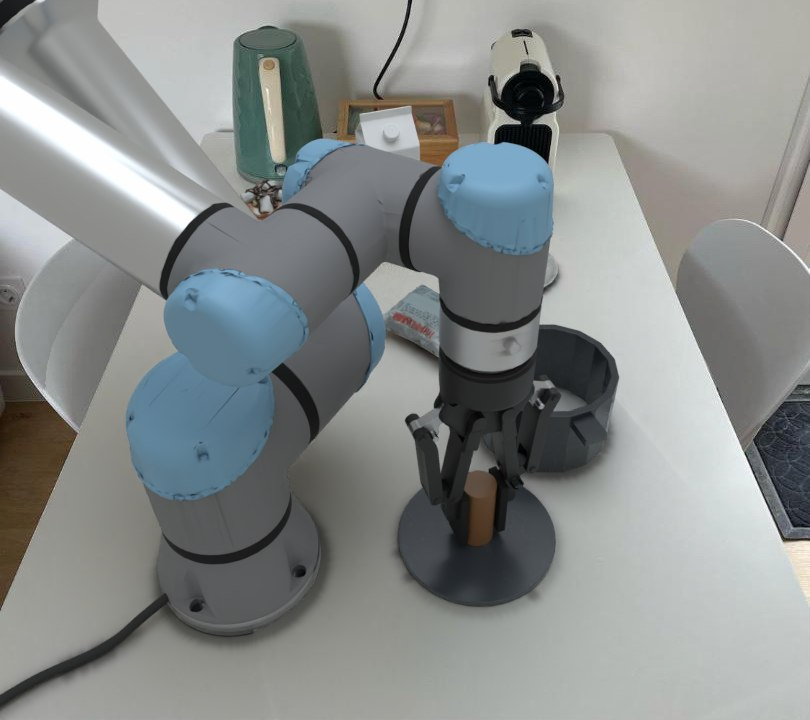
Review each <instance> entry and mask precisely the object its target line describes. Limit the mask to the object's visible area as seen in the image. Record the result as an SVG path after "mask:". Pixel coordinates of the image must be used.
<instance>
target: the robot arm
mask: <svg viewBox="0 0 810 720" xmlns="http://www.w3.org/2000/svg"><path fill="white" fill-rule="evenodd" d="M98 14H99V0H0V190H1V191H3V192H4V193H5V194H6V195H8V196H9V197H11V198H13V199H14V200H16V201H17V202H18V203H20V204H22V205H23V206H25V207H27V208H28V209H29V210H31V211H32V212H33V213H35V214H37V215H38V216H39V217H41V218H43V219H44V220H46V221H47V222H49V223H50V224H51V225H53V226H55V227H56V228H57V229H58V230H60V231H62V232H63V233H65V234H67V236H69V237H71V238H72V239H73V240H75V241H77V242H78V243H79V244H81V245H82V246H84V247H86V248H87V249H88V250H90V251H92V252H93V253H95V254H96V255H98V256H99V257H100V258H102V259H103V260H105V261H107V262H108V263H109V264H111V265H112V266H113V267H116V268H117V269H119V271H122V272H123V273H124V274H126V275H127V276H129V277H130V278H131V279H133V280H135V281H136V282H137V283H139V284H140V285H142V286H144V287H145V288H147V289H148V290H150V291H151V292H152V293H154V294H156V295H157V296H159V297H160V298H161V299H163V300H165V304H164V307H163V323H164V327H165V330H166V333H167V336H168V338H169V340H170V341H171V343H172V345H173V347H174V348H175V349H176V351H175V352H174V353H172V354H170V355H169V356H167V357H165V358H164V359H163V360H161V361H159V362H158V363H157V364H155V365H154V366H153V367H152V368H151V369H149V370H148V371H147V373H146V374H145V375H144V376H143V377H142V379H141V380H140V381H139V382H138V384H137V385H136V387H135V388H134V390H133V392H132V394H131V396H130V399H129V401H128V404H127V408H126V413H125V422H124V423H125V434H126V439H127V442H128V445H129V452H130V459H131V463H132V466H133V469H134V471H135V473H136V475H137V476H138V478H139V480H140V481H141V482H142V485H143V488H144V491H145V493H146V495H147V498H148V500H149V503H150V504H151V508H152V510H153V513H154V516H155V518H156V520H157V523H158V526H159V528H160V531H161V534H160V541H159V549H158V555H157V562H156V574H157V580H158V581H157V582H158V584H159V588H160V590H161V593H162V595H160V596H158V597H157V598H156V599H155V600H154V601H153V602H152V603H150V604H149V605H148V606H147V607H146V608H144V609H142V611H141V612H139V614H137V615H136V616H135V617H133V619H131V620H130V621H129V622H128V623H127V624H126V625H125V626H124V627H122V629H120V630H119V631H118V632H117V633H115V634H114V635H112V636H111V637H109V638H108V639H106V640H105V641H103V642H101V643H100V644H98V645H96V646H94V647H92V648H90V649H89V650H87V651H85V652H84V651H83V652H82V653H80V654H78V655H75V656H73V657H71V658H69V659H66V660H64V661H61V662H59V663H57V664H55V665H52V666H50V667H47V668H46V669H44V670H41V671H39V672H37V673H35V674H33V675H31V676H30V677H28V678H26V679H24V680H22V681H20V682H19V683H17V684H16V685H14V686H12V687H10V688H9V689H7V690H6V691H4V692H2V693H1V694H0V708H1V707H3V706H4V705H6V704H8V703H9V702H11V701H12V700H14V699H15V698H17V697H19V696H20V695H22V694H23V693H25V692H27V691H29V690H31V689H32V688H34V687H36V686H38V685H40V684H41V683H44V682H46V681H48V680H50V679H52V678H54V677H57V676H59V675H61V674H63V673H66V672H68V671H70V670H73V669H75V668H77V667H80V666H82V665H85V664H86V663H89V662H91V661H93V660H94V659H96V658H98V657H100V656H102V655H103V654H105V653H107V652H109V651H111V650H112V649H114V648H115V647H117V646H119V645H120V644H121V643H123V642H124V641H125V640H127V638H128V637H130V636H131V635H132V634H133V633H134V632H135V631H137V629H138V628H140V626H142V625H143V624H144V623H145V622H146V621H148V620H149V619H150V618H151V617H152V616H154V614H156V613H158V611H160V610H161V609H162V608H163V607H164V606H166V605H168V607H169V608H170V610H171V611H172V613H173V614H174V615H175V616H176V617H177V619H179V620H180V621H181V622H182V623H184V624H186V625H187V626H189V627H191V628H192V629H194V630H197V631H199V632H201V633H206V634H210V635H214V636H224V637H227V636H240V635H241V636H242V635H248V634H251V633H254V632H255V631H256V630H260V629H263V628H264V627H267V626H270V625H271V624H274V623H275V622H277V621H279V620H280V619H282V618H284V617H285V616H287V614H289V613H291V612H292V611H293V610H294V609H296V607H297V606H299V604H301V602H302V601H303V600H304V599H305V598H306V596H307V595H308V593H309V592H310V590H311V589H312V587H313V586H314V583H315V581H316V579H317V577H318V574H319V571H320V568H321V567H320V566H321V561H322V548H321V542H320V535H319V530H318V528H317V525H316V522H315V521H314V519H313V517H312V515H311V514H310V512H309V511H308V510H307V509H306V508H305V507H304V505H303V504H302V503H301V502H300V501H299V500H298V498H297V497H296V496H295V495H294V494H293V492H292V491H291V489H290V488H291V486H290V482H289V476H288V472H289V470H290V468H291V467H292V465H293V464H294V463H295V462H296V461H297V460H298V458H299V457H300V456H301V455H302V454H303V453H304V451H305V450H307V448H308V446H309V445H310V444H311V443H312V442H313V441H314V440H315V439H316V438H317V437H318V436H319V435H320V433H321V432H322V431H323V430H324V429H325V427H326V426H327V425H328V424H329V423H330V422H331V421H332V419H333V418H334V417H336V416H337V414H338V413H339V412H340V410H341V409H343V407H344V406H345V405H346V403H347V402H348V401H349V400H350V399H351V398H352V396H354V395H355V394H356V393H359V391H360V390H361V389H363V387H364V386H365V384H366V383H367V382H368V380H369V378H370V375H371V374H372V372H373V371H374V370H375V368H377V366H378V365H379V363H380V362H381V359H382V358H383V356H384V353H385V349H386V338H387V329H386V328H385V322H384V318H383V312H382V310H381V308H380V305H379V303H378V301H377V299H376V297H375V296H374V294H373V293H372V292H371V290H370V289H369V288H368V286H367V285H366V284H365V281H366V280H367V279H368V278H369V277H370V276H371V275H372V274H373V273H374V272H375V271H376V270H378V268H379V267H380V266H381V265H382V264H383V263H387V264H388V263H389V264H391V265H395V266H397V267H401V268H404V269H408V270H410V271H413V272H416V273H424V274H427V275H430V276H434V277H436V278H437V281H438V289H439V290H438V291H439V292H438V293H439V343H440V345H439V357H438V387H439V391H438V394H437V395H436V398H435V400H434V401H433V409H431V410H429V411H428V412H426V413H425V414H424V415H421V416H420V415H418V414H417V413H413V412H412V413H410V414H408V415H407V416H406V417H405V418H404V422H405V425H406V427H407V429H408V430H409V432H410V435H411V436H412V438H413V441H414V447H415V454H416V461H417V468H418V476H419V483H420V485H421V487H422V488H423V489H424V491H425V493H426V495H427V497H428V499H429V501H430V503H431V505H438V504H440V503H441V509H442V511H443V513H444V515H445V517H446V519H447V520H448V522H449V525H450V527H451V529H452V531H453V532H454V534H455V536H456V538H457V540H458V542H459V544H460V545H463V544H466V543H468V524H469V504H470V500H469V499H468V497H467V495H466V493H465V491H464V487H465V483H466V480H467V476H468V472H470V468H471V464H472V461H473V460H472V459H473V456H474V453H475V451H478V450H479V448H480V447H479V446H480V444H481V439H482V436H483V435H485V434H487V433H492V437H493V443H494V450H495V453H494V455H495V461H496V465H495V466H492V467H489V468H488V470H487V472H488V473H490V474H491V475H492V476H493V477H494V478H495V479H496V482H497V492H496V504H495V516H494V527H495V529H496V531H497V532H501V531H504V530H505V523H506V513H507V503H508V502H509V501H512V500H513V499H514V498H515V494H516V490H519V489H521V488H522V487H524V486H525V482H524V480H523V479H522V477H521V475H523V474H525V473H526V474H528V475H530V474H531V475H532V474H534V473H537V472H536V471H537V470H538V468H539V463H540V459H541V455H542V451H543V446H544V442H545V438H546V434H547V430H548V425H549V421H550V417H551V413H552V412H553V411H555V408H556V407H557V406H558V403H559V402H560V401H561V398H562V394H561V393H560V391H559V390H558V388H557V387H556V386H554V385H553V383H552V382H551V381H550V379H549V378H548V377H547V375H541V376H539V377H537V379H536V380H535V381H534V372H535V364H536V355H537V351H536V348H537V341H538V332H539V325H541V324H540V323H541V315H542V306H543V300H544V288H545V287H544V282H545V275H546V268H547V261H548V253H550V246H551V245H550V244H551V239H552V237H553V234H554V225H555V222H554V217H553V214H554V213H553V211H554V189H555V180H554V175H553V171H552V169H551V166H549V164H548V163H547V161H546V160H545V158H543V157H542V156H541V155H539V154H538V152H535V151H534V150H532V149H530V148H528V147H525V146H522V145H521V144H515V143H512V142H511V143H510V142H507V141H506V142H504V141H502V142H500V143H497V144H495V143H493V144H492V143H490V142H487V141H481V142H476V143H471V144H467V145H464V146H462V147H460V148H458V149H456V150H454V151H453V152H451V153H450V154H449V155H448V156H447V157H446V159H445V160H444V162H443V163H442V165H441V166H440V165H437V164H433V163H429V162H426V161H423V160H420V161H419V160H415V159H412V158H408V157H405V156H401V155H397V154H394V153H390V152H387V151H383V150H380V149H376V148H373V147H371V146H368V145H364V144H361V143H358V142H357V143H356V142H355V143H353V142H351V141H349V142H348V141H344V140H343V141H342V140H338V139H333V138H317V139H314V140H311V141H310V142H308V143H306V144H305V145H304V146H302V147H301V148H300V149H299V150H298V151H297V152H296V154H295V161H294V164H292V165H291V164H290V165H289V166H288V168H287V169H286V172H285V175H284V178H283V182H282V186H283V188H282V205H281V206H280V207H279V208H277V209H276V210H275V211H273V212H272V213H271V214H270V215H269V216H268V217H266V218H265V219H263V220H262V221H259V220H258V218H257V217H256V216H255V215H254V214H253V212H252V211H251V210H250V209H249V207H248V206H247V205H246V204H245V202H244V201H243V200H242V199H241V197H240V194H239V193H238V192H237V191H236V190H235V188H234V187H233V186H232V185H231V184H230V182H229V181H228V180H227V178H226V177H225V176H224V175H223V173H222V172H221V171H220V170H219V169H218V166H216V165H215V164H214V162H213V161H212V160H211V159H210V157H209V156H208V155H207V153H206V152H205V151H204V150H203V148H202V147H201V146H200V145H199V144H198V142H197V141H196V140H195V139H194V138H193V136H192V135H191V134H190V133H189V131H188V130H187V129H186V128H185V126H184V125H183V124H182V122H181V121H180V120H179V119H178V117H177V116H176V115H175V114H174V112H173V110H171V109H170V108H169V106H168V105H167V103H165V101H164V100H163V99H162V98H161V96H160V95H159V94H158V92H157V91H156V90H155V88H153V86H152V85H151V84H150V83H149V81H148V80H147V79H146V78H145V76H144V75H143V74H142V72H140V70H139V69H138V68H137V67H136V65H135V64H134V63H133V61H132V60H131V59H130V58H129V56H128V55H127V54H126V53H125V52H124V50H123V49H122V48H121V47H120V45H119V44H118V42H117V41H116V40H115V39H114V38H113V36H111V34H110V33H109V31H108V30H107V29H106V28H105V27H104V25H103V24H102V22H100V20H99V16H98ZM523 407H524V409H523ZM522 409H523V413H522V418H521V423H520V428H519V433H518V438H517V443H516V439H515V437H516V436H517V429H516V421H515V419H516V416H517V415H518V414H519V412H520V411H521V410H522ZM442 424H444V425H445V426H447V427H448V429H449V433H448V434H449V435H448V439H447V444H446V448H445V452H444V458H443V460H442V465H441V463H440V454H439V448H438V446H437V444H436V443H437V442H439V440H440V437H439V434H440V426H441V425H442Z"/></svg>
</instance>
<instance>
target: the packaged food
mask: <svg viewBox="0 0 810 720" xmlns="http://www.w3.org/2000/svg"><path fill="white" fill-rule="evenodd" d="M382 315H383V318H384V322H385V328H386V331H388V332H390V333H393V334H394V335H397V336H399V337H401V338H403V339H406V340H408V341H410V342H412V343H414V344H416V345H418V346H419V347H420V348H423V350H426V351H427V352H429V353H430V354H432V355H433V356H435V357H437V358H439V345H440V343H439V292H437V291H435V290H433V289H432V288H430V287H428V286H427V285H425V284H421V285H419V286H417V287H416V288H415V289H413V290H411V291H409V292H408V293H407V295H405V296H404V297H403V298H402V299H400V300H399V301H398V302H397V303H396V304H394V305H393V306H392V307H391V308H390V309H389V310H388V311H387V312H385V313H382Z"/></svg>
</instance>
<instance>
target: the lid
mask: <svg viewBox="0 0 810 720" xmlns="http://www.w3.org/2000/svg"><path fill="white" fill-rule="evenodd" d="M464 491H465V493H466V495H467V497H468V499H469V500H470V504H469V524H468V543H466V544H463V545H460V544H459V542H458V540H457V538H456V536H455V534H454V532H453V531H452V529H451V527H450V525H449V522H448V520H447V519H446V517H445V515H444V513H443V511H442V509H441V503H440V504H438V505H431V503H430V501H429V499H428V497H427V495H426V493H425V491H424V489H423V487H422V488H421V489H419V491H417V492H416V493H415V494H414V495H413V496H412V497H411V498H410V500H409V501H408V502H407V504H406V506H405V507H404V509H403V511H402V513H401V516H400V518H399V523H398V530H397V540H398V541H397V543H398V547H399V548H398V549H399V553H400V556H401V559H402V561H403V563H404V565H405V567H406V568H407V570H408V572H409V573H410V574H411V575H412V577H413V578H414V579H415V580H416V581H417V582H418V583H419V584H420V585H421V586H422V587H423V588H425V589H426V590H427V591H429V592H430V593H432V594H434V595H435V596H437V597H438V598H442V599H444V600H446V601H448V602H452V603H455V604H459V605H463V606H471V607H489V606H491V607H492V606H497V605H502V604H506V603H509V602H512V601H515V600H517V599H518V598H520V597H522V596H524V595H526V594H527V593H529V592H530V591H531V590H533V589H534V588H535V587H537V586H538V585H539V584H540V583H541V581H542V580H543V579H544V577H545V576H546V575H547V573H548V571H549V570H550V568H551V565H552V563H553V559H554V556H555V552H556V550H555V549H556V541H557V540H556V531H555V527H554V524H553V520H552V518H551V516H550V514H549V512H548V510H547V508H546V507H545V505H544V504H543V502H542V501H541V500H540V499H539V498H538V496H536V495H535V494H534V493H533V492H532V491H530V490H529V488H528V489H527V488H526V487H525V486H523V487H522V488H521V489H519V490H516V494H515V498H514V499H513V500H512V501H509V502H508V503H507V513H506V523H505V530H504V531H501V532H497V531H496V529H495V527H494V516H495V504H496V492H497V482H496V479H495V478H494V477H493V476H492V475H491V474H490V473H488V471H485V470H480V469H479V470H478V469H477V470H472V471H469V472H468V476H467V480H466V483H465V487H464Z"/></svg>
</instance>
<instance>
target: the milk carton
mask: <svg viewBox="0 0 810 720" xmlns="http://www.w3.org/2000/svg"><path fill="white" fill-rule="evenodd" d="M354 136H355V143H357V142H358V143H361V144H364V145H368V146H371V147H373V148H376V149H380V150H383V151H387V152H390V153H394V154H397V155H401V156H405V157H408V158H412V159H415V160H419V161H421V147H420V146H421V144H420V141H419V140H420V139H419V135H418V133H417V128H416V126H415V121H414V118H413V111H412V105H406V106H401V107H395V108H388V109H382V110H376V111H371V112H370V111H368V112H364V113H359V122H358V124H357V127H356V128H355V130H354Z"/></svg>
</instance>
